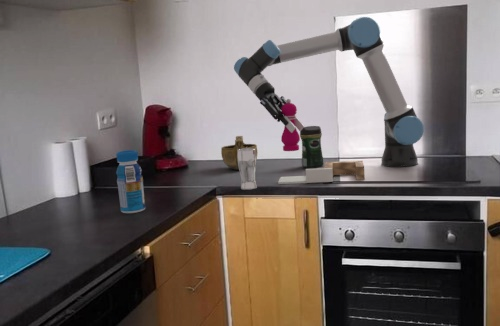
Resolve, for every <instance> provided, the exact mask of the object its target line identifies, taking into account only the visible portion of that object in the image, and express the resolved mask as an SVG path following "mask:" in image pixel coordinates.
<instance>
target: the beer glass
mask: <svg viewBox="0 0 500 326" xmlns="http://www.w3.org/2000/svg"><path fill="white" fill-rule="evenodd" d="M238 166H239V170H238V171H239V174H240V179H241V185H240V189H241V190H243V191H250V190H255V189H257V188H258V185H257V182H256V169H257V159H256V154H255V148H243V149H238Z"/></svg>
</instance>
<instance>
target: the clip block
mask: <svg viewBox="0 0 500 326" xmlns="http://www.w3.org/2000/svg"><path fill="white" fill-rule="evenodd" d="M324 168H332V174H333V176H343V175H346V176H347V175H355V178H356V180H358V179H359V180H365V179H366V178H365V177H366V176H365V164H364V162H363V160H349V161H348V160H346V161H344V160H343V161H324ZM359 180H358V181H359Z"/></svg>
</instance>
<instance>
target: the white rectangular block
mask: <svg viewBox="0 0 500 326" xmlns="http://www.w3.org/2000/svg"><path fill="white" fill-rule="evenodd" d="M305 176H306V183H305V184H308V183H310V184H311V183H312V184H313V183H330V182H332V183H333V182H334V175H333V174H332V168H325V167H322V168H320V167H316V168H305Z"/></svg>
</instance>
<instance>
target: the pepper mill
mask: <svg viewBox="0 0 500 326" xmlns="http://www.w3.org/2000/svg"><path fill="white" fill-rule="evenodd" d="M285 100H286V102H287V103H286V104H284V105H283V106H282V108H281V112H282V113H283V115H284V116H286V117H287V118H288V119H289V120H290V121H291V122H292V123H293V124H294V126H295V119H296V118H295V117H297V115H296V114H297V113H296V112H297V111H298V109H297V106H296V105H295V104H294V103H292V101H291V99H289V98H287V99H285ZM295 113H296V114H295ZM284 116H283V117H284ZM283 127H284V128H283V132H282V135H281V136H280V137H281V143H282V144H283V146H282V150H283V151H284V152H296V151H300V145H299V142H300V141H301V137H300V133H299V131H298V129H297V128H296V129H295V130H294V131H293V132H292V133H291V132H290V131H289V130H288V128H287V127H286V126H285V125H284V126H283ZM295 127H296V126H295Z"/></svg>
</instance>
